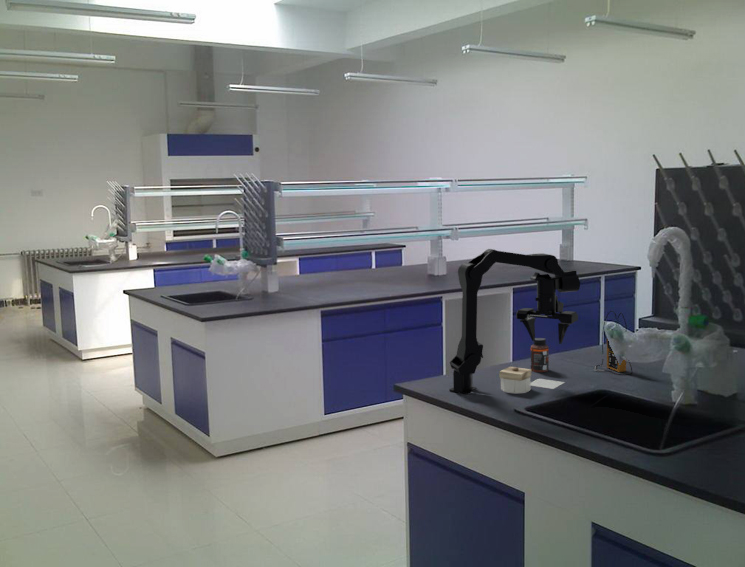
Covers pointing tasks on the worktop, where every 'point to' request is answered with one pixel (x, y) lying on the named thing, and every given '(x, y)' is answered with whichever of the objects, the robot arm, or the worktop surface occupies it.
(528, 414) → the worktop surface
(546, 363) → the supplement bottle
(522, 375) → the lid
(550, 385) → the mat
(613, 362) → the multimeter
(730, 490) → the worktop surface
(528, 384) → the bowl
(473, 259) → the robot arm
